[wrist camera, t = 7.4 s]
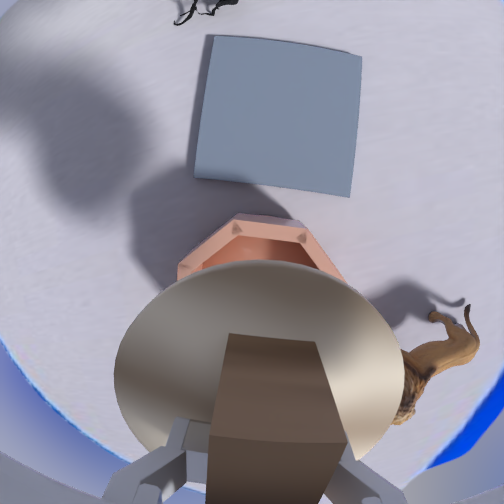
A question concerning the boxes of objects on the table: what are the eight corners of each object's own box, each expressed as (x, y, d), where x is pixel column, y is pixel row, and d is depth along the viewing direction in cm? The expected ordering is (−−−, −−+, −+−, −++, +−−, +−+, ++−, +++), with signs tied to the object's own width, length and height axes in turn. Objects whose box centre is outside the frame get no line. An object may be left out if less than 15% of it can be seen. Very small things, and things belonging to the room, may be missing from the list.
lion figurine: (363, 389, 31) (389, 445, 22) (345, 356, 30) (371, 412, 21) (471, 319, 29) (518, 354, 20) (461, 281, 28) (514, 312, 19)
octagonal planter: (198, 207, 27) (181, 213, 21) (336, 224, 27) (357, 235, 21) (188, 334, 29) (174, 366, 24) (313, 348, 29) (324, 383, 24)
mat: (216, 40, 24) (214, 35, 23) (359, 60, 24) (362, 56, 23) (195, 177, 26) (193, 177, 25) (346, 197, 26) (349, 197, 25)
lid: (118, 240, 11) (12, 290, 5) (428, 277, 11) (528, 342, 5) (134, 459, 14) (101, 542, 8) (351, 479, 14) (373, 562, 8)
